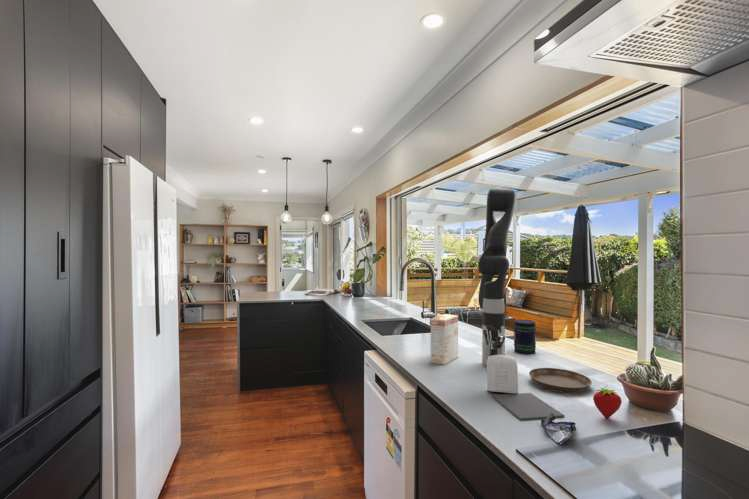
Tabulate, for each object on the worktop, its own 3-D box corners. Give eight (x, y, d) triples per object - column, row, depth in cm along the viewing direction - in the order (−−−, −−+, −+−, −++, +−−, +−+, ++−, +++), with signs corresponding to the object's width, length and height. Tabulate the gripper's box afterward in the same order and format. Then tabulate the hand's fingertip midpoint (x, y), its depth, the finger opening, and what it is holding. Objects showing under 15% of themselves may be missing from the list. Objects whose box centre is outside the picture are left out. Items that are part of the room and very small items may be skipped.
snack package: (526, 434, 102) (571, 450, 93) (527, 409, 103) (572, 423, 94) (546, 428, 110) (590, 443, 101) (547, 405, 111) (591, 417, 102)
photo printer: (518, 392, 131) (516, 355, 133) (518, 394, 127) (517, 356, 129) (487, 389, 134) (486, 353, 136) (486, 391, 130) (485, 354, 132)
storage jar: (516, 354, 181) (516, 322, 181) (512, 349, 190) (512, 319, 190) (538, 355, 179) (538, 323, 179) (533, 349, 189) (533, 319, 189)
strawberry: (626, 423, 108) (626, 387, 108) (599, 422, 108) (599, 387, 108) (614, 414, 114) (614, 380, 114) (588, 413, 114) (588, 380, 114)
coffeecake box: (444, 354, 179) (444, 313, 180) (458, 357, 175) (458, 315, 175) (429, 362, 167) (429, 318, 167) (444, 365, 163) (444, 319, 163)
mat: (491, 396, 127) (491, 395, 127) (530, 394, 130) (530, 392, 130) (520, 420, 110) (520, 418, 110) (564, 417, 112) (564, 415, 112)
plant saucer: (605, 393, 132) (605, 383, 132) (553, 398, 127) (553, 388, 127) (564, 374, 152) (564, 366, 152) (517, 378, 147) (517, 369, 147)
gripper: (512, 313, 131) (512, 363, 131) (494, 308, 144) (494, 353, 144) (492, 314, 130) (492, 364, 130) (476, 308, 143) (476, 354, 143)
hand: (493, 358), depth 137 cm, fingers closed
